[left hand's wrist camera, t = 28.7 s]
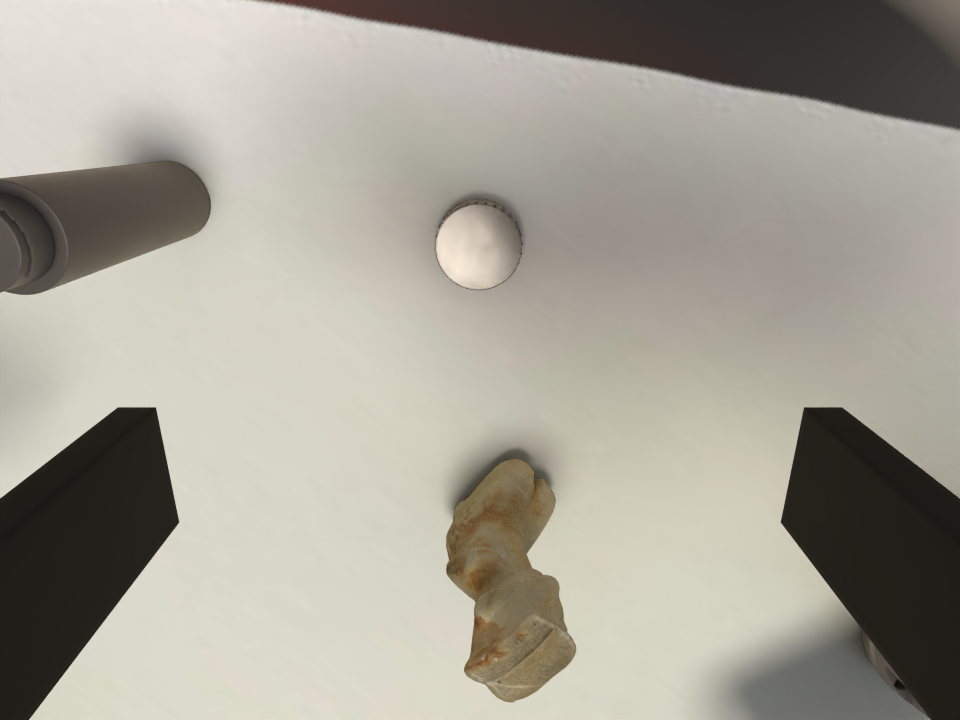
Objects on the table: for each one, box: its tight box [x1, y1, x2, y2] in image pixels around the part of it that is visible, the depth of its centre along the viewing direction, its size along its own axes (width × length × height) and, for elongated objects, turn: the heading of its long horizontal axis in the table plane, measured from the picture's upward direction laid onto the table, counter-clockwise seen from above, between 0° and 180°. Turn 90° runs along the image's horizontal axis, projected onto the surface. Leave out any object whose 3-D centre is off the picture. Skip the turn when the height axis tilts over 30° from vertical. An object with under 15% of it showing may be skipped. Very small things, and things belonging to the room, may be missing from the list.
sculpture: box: [446, 459, 576, 702], centre depth 35 cm, size 6×7×15 cm
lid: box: [435, 199, 523, 290], centre depth 36 cm, size 5×5×2 cm
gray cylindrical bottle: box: [0, 161, 210, 295], centre depth 29 cm, size 4×4×15 cm
